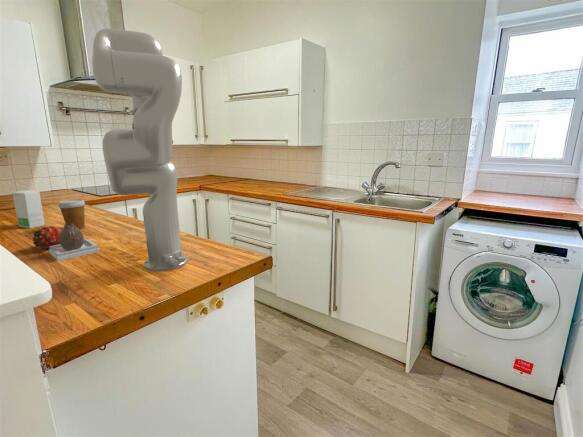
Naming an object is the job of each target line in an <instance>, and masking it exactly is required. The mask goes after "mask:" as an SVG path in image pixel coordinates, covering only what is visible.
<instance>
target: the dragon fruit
mask: <svg viewBox="0 0 583 437" xmlns="http://www.w3.org/2000/svg"><path fill="white" fill-rule="evenodd" d="M61 231H62V229H61V228H59V227H56V226H54V225H50V226H46V227H43V228H41V229H38V230H36V231H33V238H32V243H33V245H34V246H35V247H37V248H40V247H42V248H43V250H48V251H49V249H50V248H49V246H54V245H59V244H60V242H59V235H60V232H61Z"/></svg>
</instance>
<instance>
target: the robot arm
mask: <svg viewBox="0 0 583 437" xmlns="http://www.w3.org/2000/svg"><path fill="white" fill-rule="evenodd" d="M92 47H93V48H92V59H91V60H92V62H91V65H92V72H93V77H94V80H95V82H96V85H97V86H98V87H99V88H100V89H101V90H103V91H104V92H107V93H112V94H128V95H130V96H131V99H132V110H129V114H130V115H132V123H131V125H132V126H131V128H132V129H129V128H128V129H124V128H123V129H122V128H121V129H119V128H118V129H111V130H109V131H107V132H106V133H104V136H103V139H102V154H103V158H104V163H105V168H106V172H107V176H108V180H109V184H110V186H111V189H112V191H113V192H114V193H115V194H117V195H120V196H129V195H130V196H132V195H144V194H145V195H150V196H149V197H148V199H147V200H146V201H145V203H144V205H143V207H142V216H143V226H144V231H145V233H144V234H145V239H146V240H145V241H146V248H147V254H148V255H147V256H148V257H147V259H146V260H145V261H144V262H143V269H145V270H147V271H149V272H155V273H156V272H169V271H173V270H177V269H180V268H181V267H184V266H185V265H187V263H188V261H189V259H188V256H187V255H185V254H183V250H182V242H181V229H180V220H179V211H178V196H177V195H178V194H177V193H178V192H177V191H178V189H177V188H178V169H177V166H176V164H175V163H174V162H172V161H171V159H172V154H173V143H174V140H173V121H174V118H175V115H176V113H177V110H178V108H179V105H180V101H181V96H182V90H183V89H182V88H183V77H182V71H181V68H180V65H179V64H178V62H176V60H174V59H172V57H171V58H170V57H168V56H165V55H163V49H162V46H161V44H160V43H159V41H158V40H157V39H156V38H155V37H154V36H153V35H150V34H148V33H145V32H140V31H133V30H123V29H115V28H102V29H100V30H99V31H98V32H97V33H96V34H95V36H94V39H93V44H92Z"/></svg>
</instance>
